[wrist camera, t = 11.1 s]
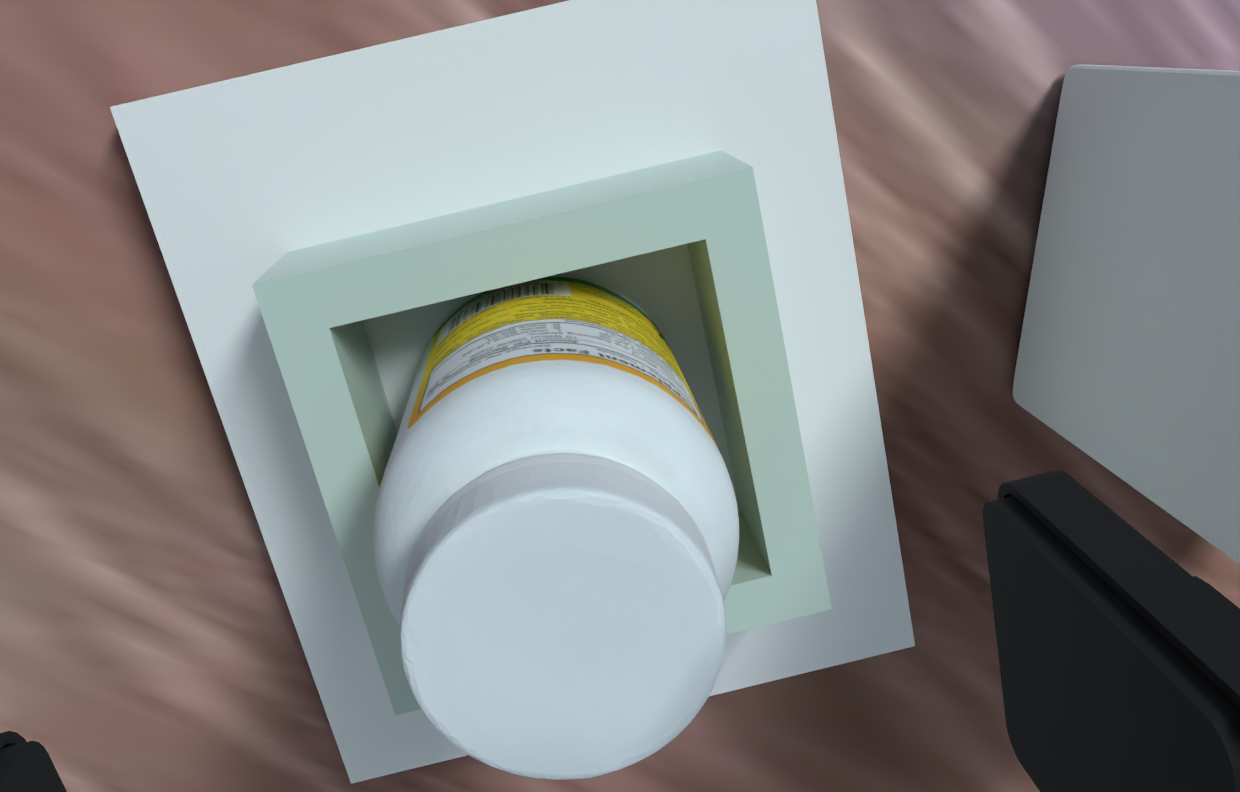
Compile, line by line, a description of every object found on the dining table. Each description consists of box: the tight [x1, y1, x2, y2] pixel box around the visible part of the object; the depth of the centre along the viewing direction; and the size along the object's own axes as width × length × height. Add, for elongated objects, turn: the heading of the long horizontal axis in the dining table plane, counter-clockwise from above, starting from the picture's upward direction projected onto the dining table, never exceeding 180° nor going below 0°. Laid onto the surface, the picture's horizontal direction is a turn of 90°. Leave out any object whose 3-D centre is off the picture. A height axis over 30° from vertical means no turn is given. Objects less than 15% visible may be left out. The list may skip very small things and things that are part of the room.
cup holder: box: [110, 0, 915, 784], centre depth 22 cm, size 15×13×4 cm
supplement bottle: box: [373, 273, 739, 780], centre depth 18 cm, size 5×5×10 cm
